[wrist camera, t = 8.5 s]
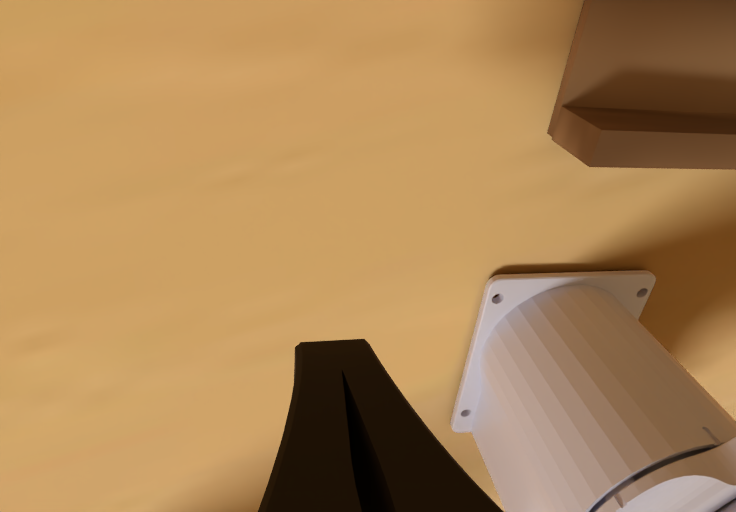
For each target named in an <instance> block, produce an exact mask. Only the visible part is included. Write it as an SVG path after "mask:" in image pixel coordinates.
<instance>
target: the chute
mask: <svg viewBox="0 0 736 512" xmlns="http://www.w3.org/2000/svg"><path fill="white" fill-rule="evenodd" d="M547 133H548V134H549V135H550V136H552V140H553V141H554V142H556V143H557V144H558V145H560V146H561V147H562V148H564V149H565V150H567V151H568V152H569V153H571V154H572V155H574V156H575V157H576V158H578V159H579V160H580V161H582V162H583V163H585V164H586V165H587V166H589V167H620V168H679V169H736V0H585V1H584V4H583V8H582V12H581V15H580V19H579V22H578V26H577V29H576V33H575V36H574V40H573V43H572V47H571V51H570V54H569V58H568V61H567V65H566V68H565V72H564V75H563V79H562V83H561V86H560V90H559V93H558V97H557V100H556V104H555V107H554V111H553V114H552V118H551V122H550V125H549V129H548V132H547Z"/></svg>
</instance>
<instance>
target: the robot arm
mask: <svg viewBox="0 0 736 512" xmlns="http://www.w3.org/2000/svg"><path fill="white" fill-rule="evenodd" d="M655 282H656V277H655V276H654V275H653V274H652V273H651V272H650V271H647V270H635V271H601V272H567V273H534V274H500V275H495V276H493V277H491V278H490V279H489V280H488V282H487V284H486V287H485V291H484V295H483V298H482V302H481V306H480V310H479V314H478V318H477V322H476V325H475V329H474V333H473V337H472V341H471V345H470V349H469V352H468V356H467V360H466V364H465V368H464V372H463V376H462V379H461V383H460V387H459V391H458V395H457V399H456V403H455V406H454V410H453V414H452V418H451V422H450V425H451V427H452V430H453V431H454V432H456V433H464V432H472V435H473V437H474V439H475V442H476V444H477V446H478V449H479V451H480V453H481V456H482V458H483V460H484V463H485V465H486V467H487V470H488V472H489V474H490V477H491V479H492V481H493V484H494V486H495V488H496V491H497V493H498V495H499V498H500V500H501V502H502V505H503V507H504V509H505V512H736V421H735V420H734V419H733V418H732V417H731V416H730V415H729V414H728V413H727V412H726V411H725V410H724V409H723V408H722V407H721V406H720V405H719V403H718V402H717V401H716V400H715V399H714V398H713V397H712V396H711V395H710V394H709V393H708V392H707V391H706V390H705V389H704V388H703V387H702V386H701V385H700V384H699V383H698V382H697V381H696V380H695V379H694V378H693V377H692V376H691V375H690V374H689V373H688V372H687V370H686V369H685V368H684V367H683V366H682V365H681V364H680V363H679V362H678V361H677V360H676V359H675V358H674V357H673V356H672V355H671V354H670V353H669V352H668V351H667V350H666V349H665V348H664V347H663V346H662V345H661V344H660V343H659V342H658V341H657V340H656V339H655V337H654V336H653V335H652V334H651V333H650V332H649V331H648V330H647V329H646V328H645V327H644V326H643V325H642V324H641V323H640V322H639V321H638V319H639V317H640V315H641V313H642V310H643V308H644V306H645V304H646V302H647V300H648V298H649V295H650V293H651V291H652V289H653V287H654V285H655ZM496 294H499V295H498V296H497V297H496V298H493V296H495V295H496ZM258 512H503V511H502V510H501V509H500V508H499V507H498V506H497V505H496V504H495V503H494V502H493V501H492V499H491V498H490V497H489V496H488V495H487V494H486V493H485V492H484V491H483V490H482V489H481V488H480V487H479V486H478V485H477V484H476V483H475V482H474V481H473V480H472V479H471V478H470V477H469V475H468V474H467V473H466V472H465V471H464V470H463V469H462V468H461V467H460V465H459V464H458V463H457V462H456V461H455V460H454V459H453V457H452V456H451V455H450V454H449V453H448V452H447V450H446V449H445V448H444V447H443V446H442V445H441V443H440V442H439V441H438V440H437V439H436V437H435V436H434V435H433V434H432V432H431V431H430V430H429V429H428V427H427V426H426V425H425V424H424V422H423V421H422V420H421V418H420V417H419V416H418V414H417V413H416V412H415V411H414V409H413V408H412V407H411V405H410V404H409V403H408V401H407V400H406V399H405V397H404V396H403V394H402V393H401V392H400V390H399V389H398V387H397V386H396V385H395V383H394V382H393V380H392V379H391V377H390V376H389V374H388V373H387V371H386V370H385V368H384V367H383V365H382V364H381V362H380V361H379V359H378V358H377V356H376V354H375V353H374V351H373V350H372V348H371V346H370V344H369V343H368V342H367V341H366V340H365V339H354V340H336V341H317V342H301V343H300V344H299V345H297V346H296V347H295V369H294V387H293V393H292V399H291V403H290V408H289V412H288V416H287V420H286V425H285V429H284V433H283V437H282V440H281V444H280V447H279V450H278V453H277V457H276V460H275V463H274V466H273V470H272V473H271V476H270V479H269V482H268V485H267V488H266V491H265V494H264V496H263V499H262V502H261V505H260V507H259V510H258Z"/></svg>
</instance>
